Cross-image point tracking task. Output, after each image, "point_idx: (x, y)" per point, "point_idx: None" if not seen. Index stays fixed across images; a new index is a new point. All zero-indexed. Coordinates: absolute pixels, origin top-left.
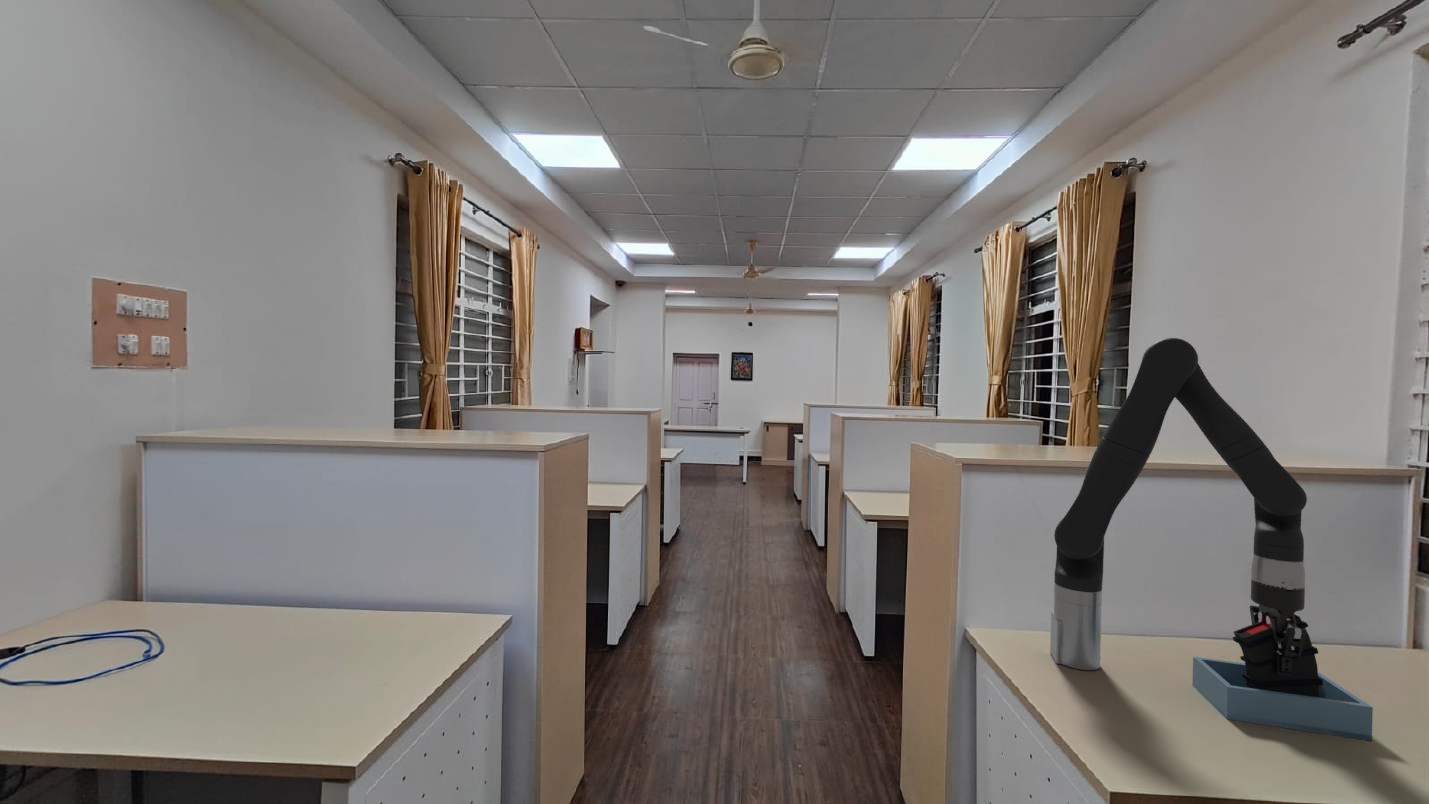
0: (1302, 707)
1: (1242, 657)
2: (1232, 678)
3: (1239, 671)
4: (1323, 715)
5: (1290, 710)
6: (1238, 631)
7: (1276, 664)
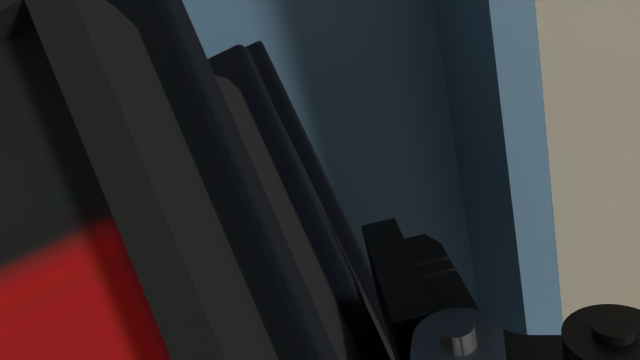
0: None
1: (218, 63)
2: (450, 6)
3: (477, 57)
4: None
5: None
6: (60, 72)
7: None
